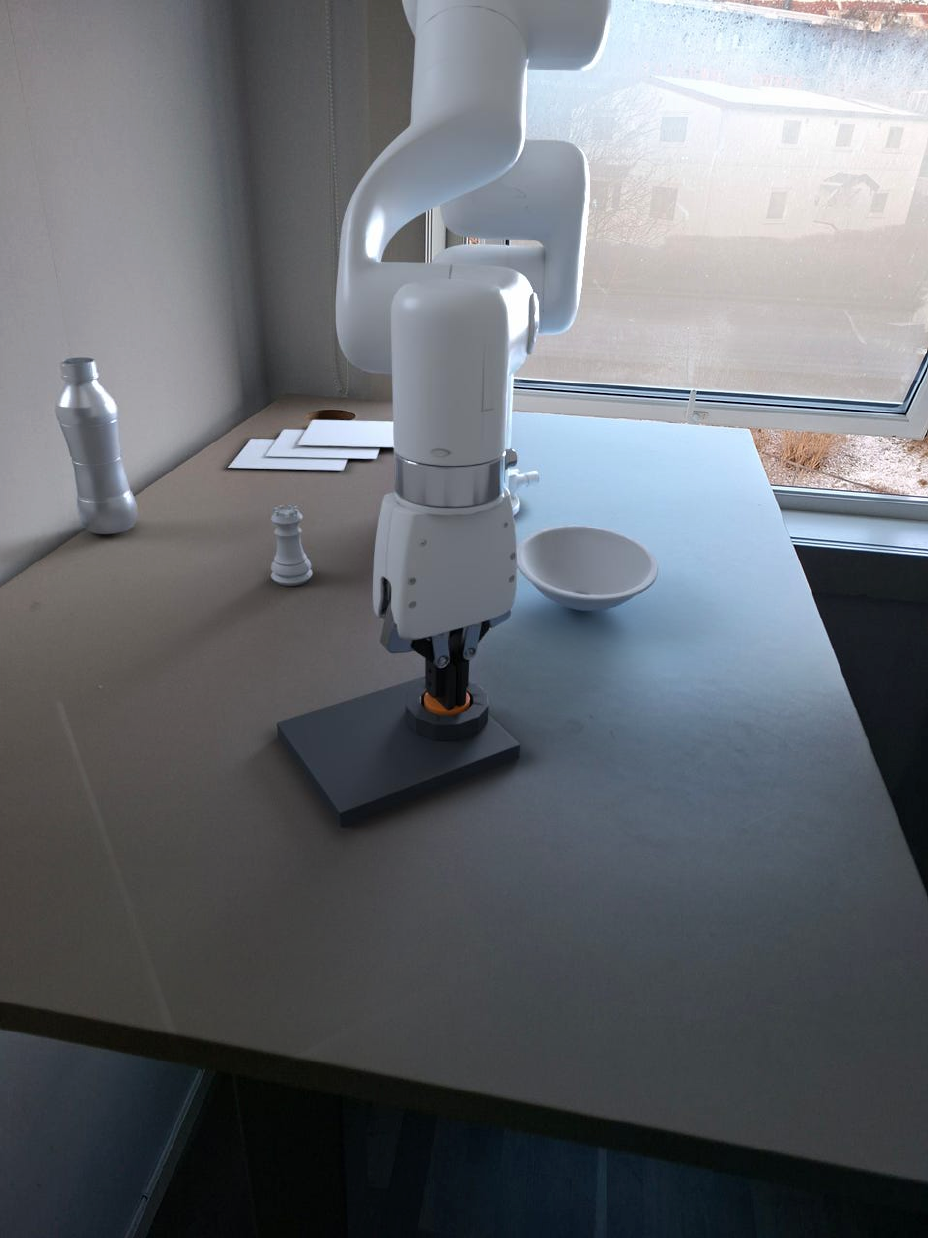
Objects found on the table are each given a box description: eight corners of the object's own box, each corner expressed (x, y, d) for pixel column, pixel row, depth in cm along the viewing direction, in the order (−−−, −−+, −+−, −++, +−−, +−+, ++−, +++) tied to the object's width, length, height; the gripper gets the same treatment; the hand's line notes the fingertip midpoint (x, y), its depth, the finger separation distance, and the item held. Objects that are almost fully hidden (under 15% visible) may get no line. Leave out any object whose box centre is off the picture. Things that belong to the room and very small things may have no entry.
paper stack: (400, 471, 121) (400, 467, 121) (228, 467, 121) (227, 463, 121) (411, 425, 142) (411, 421, 141) (263, 422, 142) (263, 418, 141)
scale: (443, 683, 74) (443, 654, 72) (522, 757, 65) (524, 726, 63) (277, 736, 67) (274, 705, 65) (341, 828, 58) (338, 795, 56)
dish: (666, 647, 80) (673, 600, 77) (515, 643, 80) (517, 596, 78) (637, 567, 95) (642, 526, 93) (510, 563, 95) (512, 522, 93)
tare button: (454, 696, 69) (454, 680, 68) (478, 718, 66) (478, 702, 66) (416, 709, 67) (415, 693, 67) (438, 732, 65) (438, 716, 64)
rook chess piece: (320, 572, 92) (315, 504, 88) (300, 590, 89) (294, 519, 85) (284, 566, 94) (278, 498, 90) (263, 583, 90) (255, 513, 86)
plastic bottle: (122, 543, 98) (88, 369, 88) (70, 537, 99) (30, 365, 90) (151, 522, 104) (121, 356, 94) (101, 517, 105) (67, 352, 95)
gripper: (508, 445, 63) (499, 653, 72) (325, 477, 56) (339, 702, 65) (570, 474, 58) (551, 695, 67) (375, 513, 51) (383, 754, 60)
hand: (446, 698), depth 66 cm, fingers closed
